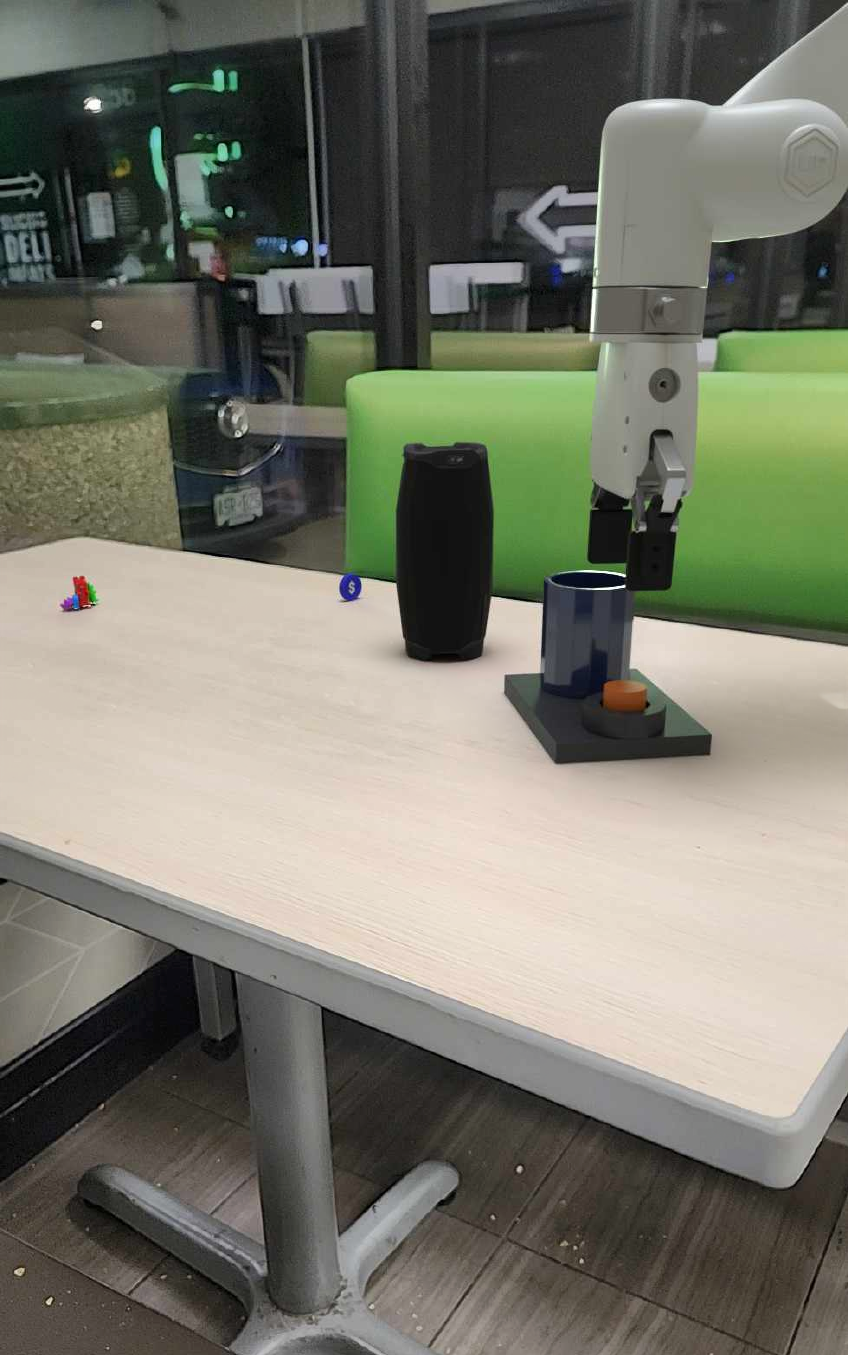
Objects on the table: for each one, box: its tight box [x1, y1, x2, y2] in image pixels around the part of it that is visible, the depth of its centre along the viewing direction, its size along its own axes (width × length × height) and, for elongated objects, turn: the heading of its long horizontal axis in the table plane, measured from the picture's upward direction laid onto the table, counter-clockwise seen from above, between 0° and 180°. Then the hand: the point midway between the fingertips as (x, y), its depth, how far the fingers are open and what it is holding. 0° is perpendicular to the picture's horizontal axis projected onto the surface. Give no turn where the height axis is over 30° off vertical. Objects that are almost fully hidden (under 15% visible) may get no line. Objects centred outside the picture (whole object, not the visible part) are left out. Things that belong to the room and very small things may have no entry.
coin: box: [338, 573, 363, 601], centre depth 134 cm, size 3×1×3 cm, turn 138°
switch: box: [603, 680, 647, 711], centre depth 87 cm, size 3×3×2 cm
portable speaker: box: [395, 441, 495, 662], centre depth 109 cm, size 9×9×20 cm
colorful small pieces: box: [60, 575, 100, 611], centre depth 131 cm, size 5×3×4 cm, turn 131°
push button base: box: [503, 668, 713, 765], centre depth 93 cm, size 12×18×4 cm, turn 9°
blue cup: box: [539, 570, 637, 699], centre depth 95 cm, size 7×7×9 cm
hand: (626, 575), depth 84 cm, fingers open, 9 cm apart
